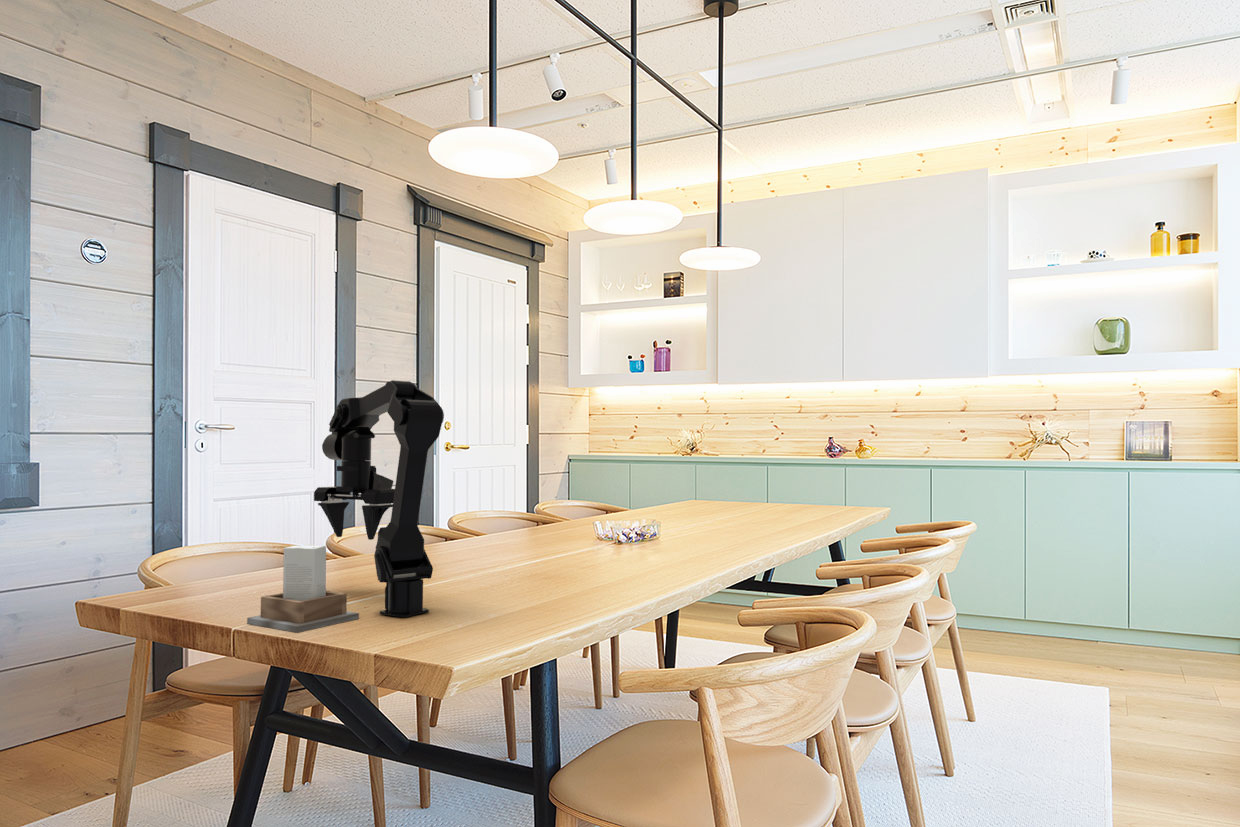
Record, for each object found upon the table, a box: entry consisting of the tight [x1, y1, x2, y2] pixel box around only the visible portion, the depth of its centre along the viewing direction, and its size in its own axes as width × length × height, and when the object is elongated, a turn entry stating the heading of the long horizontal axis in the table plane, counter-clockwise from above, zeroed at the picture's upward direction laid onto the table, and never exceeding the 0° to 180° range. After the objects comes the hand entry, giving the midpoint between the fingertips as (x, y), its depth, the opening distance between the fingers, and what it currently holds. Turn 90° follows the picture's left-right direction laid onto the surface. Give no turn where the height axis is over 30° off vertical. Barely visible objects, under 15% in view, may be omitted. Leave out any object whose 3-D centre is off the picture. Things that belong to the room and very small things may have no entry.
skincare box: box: [282, 544, 327, 601], centre depth 146 cm, size 6×4×12 cm
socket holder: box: [246, 590, 360, 633], centre depth 145 cm, size 13×13×4 cm
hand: (354, 538), depth 168 cm, fingers open, 9 cm apart
